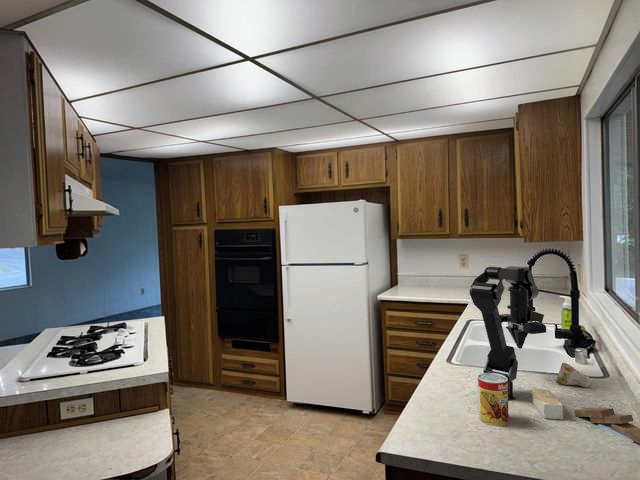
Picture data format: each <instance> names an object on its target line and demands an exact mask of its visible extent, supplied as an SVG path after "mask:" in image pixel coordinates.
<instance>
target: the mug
mask: <svg viewBox="0 0 640 480" xmlns="http://www.w3.org/2000/svg"><path fill="white" fill-rule="evenodd" d="M555 382H556V383H558V384H561V385H564V386H565V385H566V386H578V387H579V386H580V387H582V388H588V387H589V386H590V383H591V378H590V377H589V376H588V375H586V374H584V373H582V372H581V371H578V370H577V369H576V368H575V367H574V366H572V365H571V364H568V363H566V362H562V363H561V365H560V368H559V372H558V375H557V377H556V380H555Z"/></svg>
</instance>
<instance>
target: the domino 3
mask: <svg viewBox="0 0 640 480" xmlns="http://www.w3.org/2000/svg"><path fill="white" fill-rule="evenodd" d="M597 428H598V429H600V430H603V431H605V432H608V433H610V434H612V435H615V436H617V437H619V438H621V439H623V440H626V441H629V442H631V443H637V442H636V441H634V440H632V439H630V438H628V437H626V436H624V435H622V434H620V433H618V432H616V431H614V430H612V429H611V423H597Z"/></svg>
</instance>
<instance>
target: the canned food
mask: <svg viewBox="0 0 640 480" xmlns="http://www.w3.org/2000/svg"><path fill="white" fill-rule="evenodd" d="M477 394H478V396H477V398H478V399H477V400H478V405H477V406H478V419H479V421H480V422H481V423H484V424H486V425H489V426H495V427H499V426H506V425H507V424H508V423H509V421H510V420H509V417H510V416H509V415H510V414H509V400H508V379H507V377H505V376H503V375H501V374H496V373H480V374H478V375H477Z"/></svg>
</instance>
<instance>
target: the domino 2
mask: <svg viewBox="0 0 640 480" xmlns="http://www.w3.org/2000/svg"><path fill="white" fill-rule="evenodd" d="M589 420H590V423H591V424H593V423H594V424H602V423H617V424H622V423H627V422H628V423H631V422H635V421H634V420H635V419H634V418H633V415H632V414H624V413H622V414H620V413H619V414H617V413H615V415H611V416H605V417H589Z"/></svg>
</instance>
